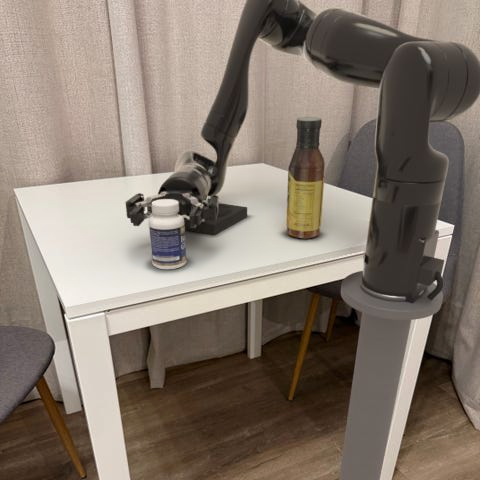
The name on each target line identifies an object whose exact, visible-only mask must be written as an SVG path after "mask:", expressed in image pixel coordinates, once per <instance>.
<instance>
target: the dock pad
mask: <svg viewBox="0 0 480 480" xmlns="http://www.w3.org/2000/svg"><path fill="white" fill-rule="evenodd" d="M218 206H219V211H218V215H217V219H216V220H215V221H210V220H209V218H205V219H204V221H203V222H201V224H200V225H196V227H195V228H190V220H186V221H184V223H185V231H190V232H195V233H200V234H201V233H202V234H208V235H213V236H216V235H217V234H219V233H220V232H223V231H224V230H226V229H228V228H229V227H231V226H234V225H235V224H237V223H239V222H241V221H242V220H244V219H245V218H248V206H243V205H242V206H241V205H235V204H228V203H222V202H218Z"/></svg>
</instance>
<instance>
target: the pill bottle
mask: <svg viewBox="0 0 480 480" xmlns="http://www.w3.org/2000/svg"><path fill="white" fill-rule="evenodd" d="M152 212H153V213H154V215H153V216H151V217H150V218H148V231H149V232H148V233H149V242H150V243H149V244H150V255H151V263H152V266H154V267H155V268H157V269H160V270H174V269H178V268H179V269H180V268H181V267H184V266H185V265H186V263H187V242H186V230H185V223H184V219H183V217H182V216H181V215H179V214H178V212H179V202H178V201H177V200H173V199H161V200H156V201H153V202H152Z"/></svg>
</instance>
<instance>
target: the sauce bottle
mask: <svg viewBox="0 0 480 480" xmlns="http://www.w3.org/2000/svg"><path fill="white" fill-rule="evenodd" d="M322 121H323V119H322V118H321V117H317V116H302V117H301V116H300V117H298V118H296V123H295V124H296V126H295V127H296V130H297V131H296V143H295V149H294V151H293V154H292V156H291V160H290V162H289V165H288V169H287V194H286V195H287V196H286V197H287V198H286V221H285V222H286V232H287V234H288V236H291V237H293V238H297V239H302V240H303V239H305V240H308V239H312V238H316V237H318V236H319V235H320V233H321V232H320V230H321V226H322V218H323V217H322V216H323V202H324V187H325V165H326V162H325V158H324V156H323V153H322V152H321V149H320V148H319V146H320V134H321V128H322Z"/></svg>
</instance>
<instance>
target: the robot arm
mask: <svg viewBox="0 0 480 480" xmlns="http://www.w3.org/2000/svg"><path fill="white" fill-rule="evenodd" d="M237 23H238V24H237V27H236V30H235V34H234V37H233V40H232V43H231V47H230V50H229V53H228V58H227V61H226V64H225V68H224V71H223V75H222V78H221V82H220V84H219V87H218V88H217V89H218V90H217V92H216V94H215V97H214V99H213V102H212V104H211V106H210V109H209V110H208V113H207V115H206V117H205V119H204V122H203V124H202V126H201V129H200V132H199V136H200V139H202V141H203V142H204V143H206V144H207V145H209V146H210V148H212V149H213V151H214V152H215V155H216V156H215V159H212V158H210V157H208V156H206V155H204V154H203V153H200V152H199V151H197V150H194V149H185V150H184V151H183V152H181V154H179V156H178V158H177V160H176V163H175V166H174V172H173V173H172V174H171V175H170V176H168V178H167V179H166V180H165V181H164V182H162V184H161V186H160V187H159V190H158V192H157V194H155V195H151V196H147V197H146V198H145V196H144V193H141V192H138V193H136V194H134V195H132V197H130V198H129V199H128V200H126V201H125V211H126V212H125V213H126V218H127V219H130V223H131V224H132V225H133V227H140V226H141V225H142V223H143V222H144V221H145V220H147V219H150V217H151V216H153V215H154V213H153V212H152V202H153V201H156V200H161V199H173V200H177V201H178V202H179V212H178V214H179V215H181V216H182V217H183V219H184V221H186V220H190V228H195V227H196V225H200V224H201V222H203V221H204V219H205V218H209V220H210V221H215V220H216V219H217V215H218V211H219V206H218V203H219V193H220V192H221V191H222V190H223V188H224V185H225V181H226V175H227V169H228V164H229V159H230V156H231V153H232V149H233V147H234V144H235V141H236V139H237V137H238V136H239V133H240V131H241V129H242V127H243V125H244V123H245V121H246V119H247V114H248V111H249V106H250V70H251V69H250V68H251V60H252V56H253V52H254V49H255V46H256V44H257V41H258V40H259V41H261V42H263V43H264V44H265V45H267V46H268V47H269V48H271V49H273V50H274V51H277V52H279V53H283V54H286V55H291V56H295V57H299V58H301V59H303V60H305V62H306V63H307V64H308V66H311V68H312V69H313V68H314V69H315V70H317V71H318V72H320V73H321V74H324V75H326V76H328V77H329V78H332V79H333V80H336V81H338V82H342V83H345V84H348V85H349V84H350V85H355V86H360V87H366V88H374V89H378V97H377V107H376V111H377V112H376V121H375V133H374V153H375V159H376V168H375V169H376V170H375V177H374V184H373V185H374V186H373V192H372V200H371V207H370V215H369V221H368V229H367V237H366V244H365V249H364V250H363V255H362V257H363V258H362V259H363V260H362V261H363V266H362V270H361V271H362V279H361V283H360V287H361V289H362V290H363V291H364V292H365V293H367V294H368V295H370V296H373V297H375V298H378V299H382V300H387V301H397V302H409V303H414V302H415V301H416V300H417V299H418V298H420V297H421V296H422V295H423V294H424V293H425V292H426V291H427V289H428V286H430V285H431V284H432V283H434V282H436V285H437V286H436V288H435V289H434V290H433V291H432V292H431V293H430V294H429V295H428V296H427V298H428V299H430V300H432V299H433V298H434V297H436V296H437V295H438V294H439V293H440V292H441V291H443V288H444V280H443V277H442V273H443V270H444V269H443V268H444V263H445V259H442V258H439V257H435V256H436V255H435V254H436V250H437V245H438V242H439V241H438V240H439V237H440V231H439V230H438V229H436V228H437V224H438V219H439V214H440V210H441V209H440V208H441V203H442V199H443V195H444V189H445V186H446V180H447V177H448V170H449V165H450V159H449V157H448V156H447V155H446V154H445V153H443V152H441V151H439V150H436V149H435V148H433V146H432V145H431V143H430V136H429V135H430V128H431V123H439V122H445V121H450V120H452V119H455V118H457V117H460V116H461V115H463V114H464V113H466V112H467V111H468V110H470V109H471V108H472V107H473V106H474V104H475V103H476V102H477V101H478V99H479V97H480V59H479V58H478V56H477V55H476V53H475V52H474V51H473V50H472V49H471V48H470V47H469V46H467V45H465V44H464V43H461V42H455V41H445V40H435V39H431V38H425V37H419V36H415V35H411V34H410V33H409V34H408V33H406V32H404V31H402V30H399V29H397V28H395V27H393V26H391V25H389V24H386V23H384V22H381V21H379V20H376V19H374V18H371V17H369V16H367V15H364V14H362V13H359V12H355V11H353V10H350V9H346V8H342V7H328V8H325V9H323V10H321V11H320V12H316V11H314V10H313V9H311V8H310V7H309V6H307V5H306V4H305V3H304V2H303V1H302V0H246V1H245V3H244V5H243V8H242V11H241V14H240V17H239V21H238V22H237ZM145 211H146V213H145Z"/></svg>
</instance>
